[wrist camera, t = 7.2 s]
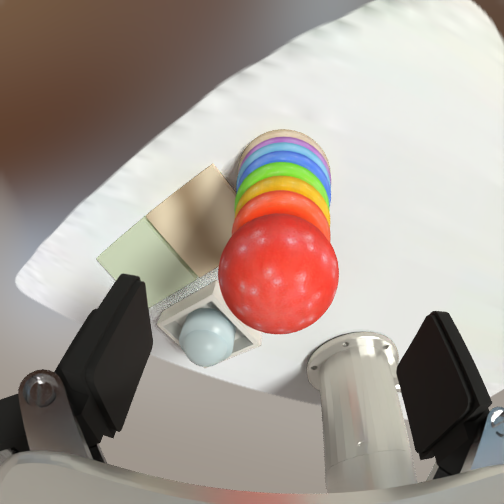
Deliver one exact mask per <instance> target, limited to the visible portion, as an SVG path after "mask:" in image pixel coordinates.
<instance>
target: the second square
mask: <svg viewBox="0 0 504 504" xmlns="http://www.w3.org/2000/svg"><path fill="white" fill-rule="evenodd" d="M97 260H98V261H99V263H100V264H101V265H102V266H103V267H104V268H105V269H106V270H107V271H108V272H109V274H110V275H111V276H112V277H113V278H114V279H115V280H117V279H118V277H119V276H120V275H121V274H122V273H124V274H130V275H136V276H139V277H140V280H141V281H144V282H145V285H146V293H147V302H148V308H150V307H152V306H153V305H155V304H157V303H158V302H160V301H162V300H163V299H165V298H167V297H168V296H170V295H172V294H173V293H175V292H177V291H178V290H180V289H182V288H183V287H185V286H187V285H188V284H190V283H192V282H193V281H195V280H196V279H197V274H196V273H195V272H194V271H193V270H192V269H191V268H190V267H189V266H188V264H187V263H186V262H185V261H184V260H183V259H182V258H181V257H180V255H179V254H178V253H177V252H176V251H175V250H174V249H173V248H172V246H171V245H170V244H169V243H168V242H167V241H166V240H165V238H164V237H163V236H162V235H161V234H160V233H159V231H158V230H157V229H156V228H155V227H154V226H153V224H152V223H151V222H150V221H149V220H148V219H147V217H146V216H144V217H143V218H142V219H141V220H140V221H138V222H137V223H136V224H135V225H134V226H132V227H131V228H130V229H129V230H128V231H127V232H125V233H124V234H123V235H122V236H121V237H120V238H118V239H117V240H116V241H115V242H114V243H113V244H112V245H110V246H109V247H108V248H107V249H106V250H105V251H104V252H102V253H101V254H100V255H99V256H98V257H97Z"/></svg>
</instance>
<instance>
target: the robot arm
mask: <svg viewBox="0 0 504 504" xmlns="http://www.w3.org/2000/svg"><path fill="white" fill-rule="evenodd" d="M152 345H153V338H152V331H151V324H150V317H149V310H148V302H147V293H146V285H145V282H144V281H141V280H140V277H139V276H136V275H130V274H124V273H122V274H121V275H120V276H119V277H118V279H117V280H116V282H115V283H114V285H113V286H112V288H111V289H110V291H109V292H108V294H107V295H106V297H105V298H104V300H103V301H102V303H101V304H100V306H99V307H98V309H95V310H93V311H92V312H91V313H90V314H89V316H88V317H87V319H86V321H85V322H84V324H83V325H82V327H81V328H80V330H79V332H78V333H77V335H76V337H75V338H74V340H73V341H72V343H71V345H70V346H69V348H68V350H67V351H66V353H65V355H64V356H63V358H62V360H61V361H60V363H59V365H58V367H57V368H56V370H55V372H52V371H50V370H44V369H42V370H36V371H34V372H32V373H29V374H28V375H27V376H26V377H25V378H24V379H23V380H22V382H21V383H20V386H19V389H18V394H16V395H13V396H10V397H7V398H4V399H1V400H0V504H504V408H503V407H495V408H493V409H492V410H491V411H489V409H488V407H489V406H490V405H491V404H492V401H491V399H490V396H489V394H488V392H487V389H486V387H485V385H484V383H483V380H482V378H481V376H480V374H479V371H478V369H477V367H476V365H475V363H474V361H473V359H472V357H471V355H470V353H469V351H468V349H467V347H466V345H465V343H464V341H463V339H462V337H461V335H460V333H459V331H458V329H457V327H456V325H455V324H454V322H453V320H452V318H451V316H450V315H449V313H447V312H440V311H433V312H431V313H430V315H428V316H426V318H425V320H424V322H423V323H422V325H421V327H420V329H419V331H418V332H417V334H416V336H415V338H414V339H413V341H412V343H411V344H410V346H409V348H408V349H407V351H406V353H405V354H404V356H403V358H402V359H401V361H400V363H399V364H398V361H399V355H398V351H397V348H396V346H395V344H394V343H393V341H392V340H390V339H389V338H388V337H386V336H384V335H381V334H377V333H373V332H356V333H351V334H346V335H343V336H340V337H337V338H335V339H332V340H330V341H328V342H327V343H325V344H324V345H322V346H321V347H319V348H318V349H317V350H316V351H315V352H314V353H313V355H312V356H311V357H310V359H309V362H308V364H307V377H308V380H309V382H310V384H311V385H312V386H313V387H314V388H315V389H317V390H318V391H320V394H321V407H322V421H323V437H324V438H323V439H324V457H325V483H326V489H327V492H328V494H327V493H326V494H280V493H261V492H247V491H237V490H228V489H220V488H213V487H206V486H199V485H194V484H189V483H183V482H178V481H174V480H169V479H164V478H160V477H155V476H150V475H146V474H143V473H139V472H135V471H131V470H127V469H124V468H120V467H117V466H114V465H110V464H107V462H106V459H105V457H104V455H103V453H102V451H101V448H100V446H99V444H98V443H100V442H101V439H102V437H103V435H105V436H108V437H111V438H114V435H115V432H116V431H118V432H120V431H121V429H122V427H123V425H124V422H125V419H126V416H127V413H128V411H129V408H130V405H131V402H132V400H133V397H134V394H135V391H136V389H137V386H138V384H139V381H140V378H141V376H142V373H143V370H144V368H145V365H146V363H147V360H148V357H149V355H150V352H151V350H152ZM397 365H398V366H397ZM397 392H401V393H402V397H403V400H404V404H405V408H406V412H407V416H408V420H409V424H410V428H411V433H412V437H413V441H414V446H415V450H416V452H417V453H419V456H420V459H421V460H423V459H429V458H433V457H434V456H435V458H436V462H435V464H434V466H433V469H432V470H431V472H430V474H429V476H428V478H427V480H426V481H425V482H420V483H417V478H416V473H415V468H414V463H413V458H412V454H411V449H410V445H409V440H408V435H407V431H406V426H405V422H404V418H403V413H402V409H401V405H400V401H399V397H398V394H397Z"/></svg>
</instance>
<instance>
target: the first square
mask: <svg viewBox="0 0 504 504" xmlns="http://www.w3.org/2000/svg"><path fill="white" fill-rule="evenodd" d="M235 198H236V192H235V191H234V190H233V188H232V187H231V186H230V184H229V183H228V182H227V181H226V179H225V178H224V177H223V175H222V174H221V173H220V172H219V170H218V169H217V168H216V166H215V165H214V164H211V165H210V166H209V167H207V168H206V169H205V170H203V171H202V172H201V173H199V174H198V175H197V176H195V177H194V178H193V179H191V180H190V181H189V182H187V183H186V184H185V185H183V186H182V187H181V188H180V189H178V190H177V191H176V192H174V193H173V194H172V195H171V196H169V197H168V198H167V199H165V200H164V201H163V202H162V203H160V204H159V205H158V206H157V207H155V208H154V209H153V210H152V211H151V212H149V213H148V214H147V215H146V217H147V219H148V220H149V221H150V222H151V223H152V224H153V226H154V227H155V228H156V229H157V230H158V231H159V233H160V234H161V235H162V236H163V237H164V238H165V240H166V241H167V242H168V243H169V244H170V245H171V246H172V248H173V249H174V250H175V251H176V252H177V253H178V254H179V255H180V257H181V258H182V259H183V260H184V261H185V262H186V263H187V264H188V266H189V267H190V268H191V269H192V270H193V271H194V272H195V273H196V274H197V276H198V277H199V278H200V277H202V276H203V275H205V274H207V273H208V272H210V271H212V270H213V269H215V268H217V267H218V266H219V262H220V258H221V254H222V252H223V250H224V248H225V246H226V244H227V242H228V241H229V239H230V238H231V236H232V227H233V223H234V218H235V211H234V206H235Z"/></svg>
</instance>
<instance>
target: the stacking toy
mask: <svg viewBox="0 0 504 504" xmlns="http://www.w3.org/2000/svg"><path fill="white" fill-rule="evenodd" d="M236 189H237V194H236V198H235V206H234V211H235V218H234V223H233V227H232V236H231V238H230V239H229V241H228V242H227V244H226V246H225V248H224V250H223V252H222V254H221V258H220V262H219V269H218V280H219V286H220V290H221V293H222V296H223V299H224V301H225V303H226V305H227V306H228V308H229V309H230V311H231V312H232V313H233V314H234V315H235V316H236V317H237V318H238V319H239V320H240V321H241V322H243V323H244V324H245V325H247V326H249V327H250V328H252V329H255V330H258V331H261V332H264V333H270V334H288V333H293V332H297V331H299V330H302V329H304V328H306V327H308V326H310V325H312V324H313V323H314V322H316V321H317V320H318V319H319V318H320V317H321V316H322V315H323V314H324V313H325V312H326V310H327V309H328V308H329V306H330V305H331V303H332V301H333V299H334V296H335V293H336V290H337V286H338V279H339V268H338V261H337V258H336V255H335V252H334V249H333V247H332V245H331V243H330V214H329V207H330V201H331V175H330V166H329V162H328V159H327V157H326V155H325V153H324V151H323V150H322V148H321V147H320V146H319V145H318V144H317V143H316V142H315V141H314V140H313V139H311V138H310V137H308V136H307V135H305V134H303V133H300V132H297V131H293V130H286V129H281V130H273V131H269V132H266V133H264V134H262V135H260V136H258V137H257V138H255V139H254V140H253V141H252V142H251V143H250V144H249V145H248V146H247V148H246V149H245V150H244V152H243V154H242V156H241V159H240V162H239V167H238V178H237V184H236Z"/></svg>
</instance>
